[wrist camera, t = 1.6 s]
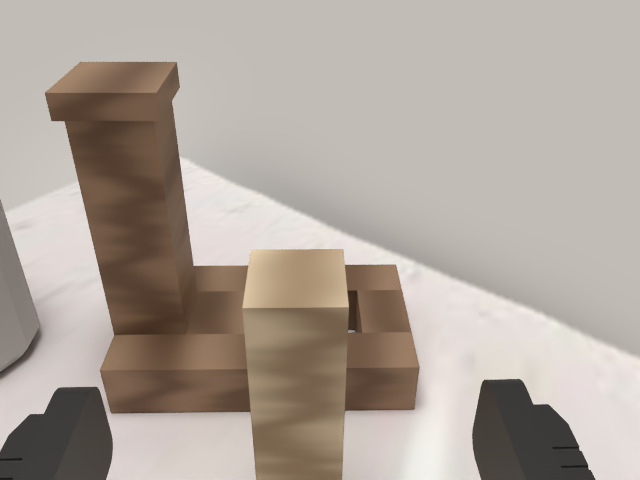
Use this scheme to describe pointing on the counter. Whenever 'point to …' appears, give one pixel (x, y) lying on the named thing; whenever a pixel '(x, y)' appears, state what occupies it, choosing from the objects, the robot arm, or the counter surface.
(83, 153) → the brown wooden stand
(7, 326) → the jar
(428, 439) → the counter surface
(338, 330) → the beige wooden post
